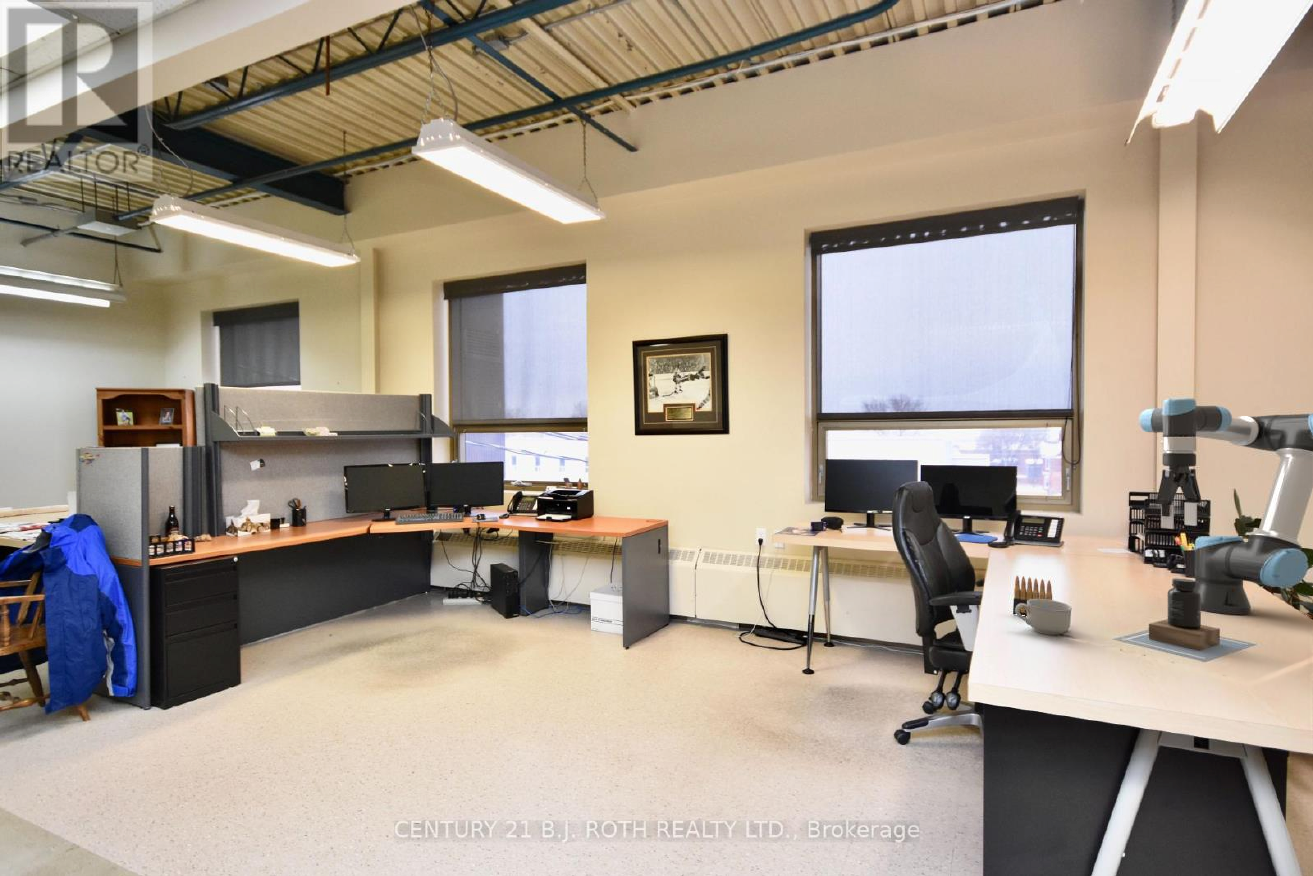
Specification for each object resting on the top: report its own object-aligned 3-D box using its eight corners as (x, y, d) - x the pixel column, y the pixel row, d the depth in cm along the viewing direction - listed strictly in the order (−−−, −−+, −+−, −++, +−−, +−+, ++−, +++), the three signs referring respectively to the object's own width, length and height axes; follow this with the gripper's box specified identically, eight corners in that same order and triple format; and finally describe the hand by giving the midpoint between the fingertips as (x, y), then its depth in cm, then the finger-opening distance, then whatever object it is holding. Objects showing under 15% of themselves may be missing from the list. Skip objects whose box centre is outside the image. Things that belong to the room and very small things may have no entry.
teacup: (1065, 628, 186) (1065, 600, 186) (1076, 639, 175) (1076, 609, 175) (1010, 624, 190) (1010, 596, 190) (1018, 634, 180) (1017, 605, 180)
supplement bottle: (1207, 630, 166) (1207, 583, 167) (1176, 629, 168) (1176, 582, 168) (1191, 623, 173) (1191, 577, 173) (1161, 621, 175) (1161, 576, 175)
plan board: (1166, 628, 186) (1166, 624, 186) (1256, 648, 168) (1256, 643, 168) (1112, 643, 172) (1112, 638, 172) (1205, 666, 155) (1205, 661, 155)
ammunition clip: (1012, 614, 201) (1012, 575, 201) (1015, 613, 202) (1015, 574, 202) (1051, 622, 193) (1051, 581, 193) (1053, 620, 194) (1053, 580, 194)
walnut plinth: (1169, 633, 178) (1169, 618, 178) (1219, 644, 168) (1219, 628, 168) (1148, 639, 173) (1148, 623, 173) (1199, 650, 163) (1199, 634, 163)
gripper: (1184, 451, 197) (1184, 522, 197) (1141, 452, 185) (1141, 527, 185) (1215, 452, 190) (1215, 525, 190) (1172, 453, 178) (1172, 531, 178)
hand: (1179, 526), depth 187 cm, fingers open, 13 cm apart
